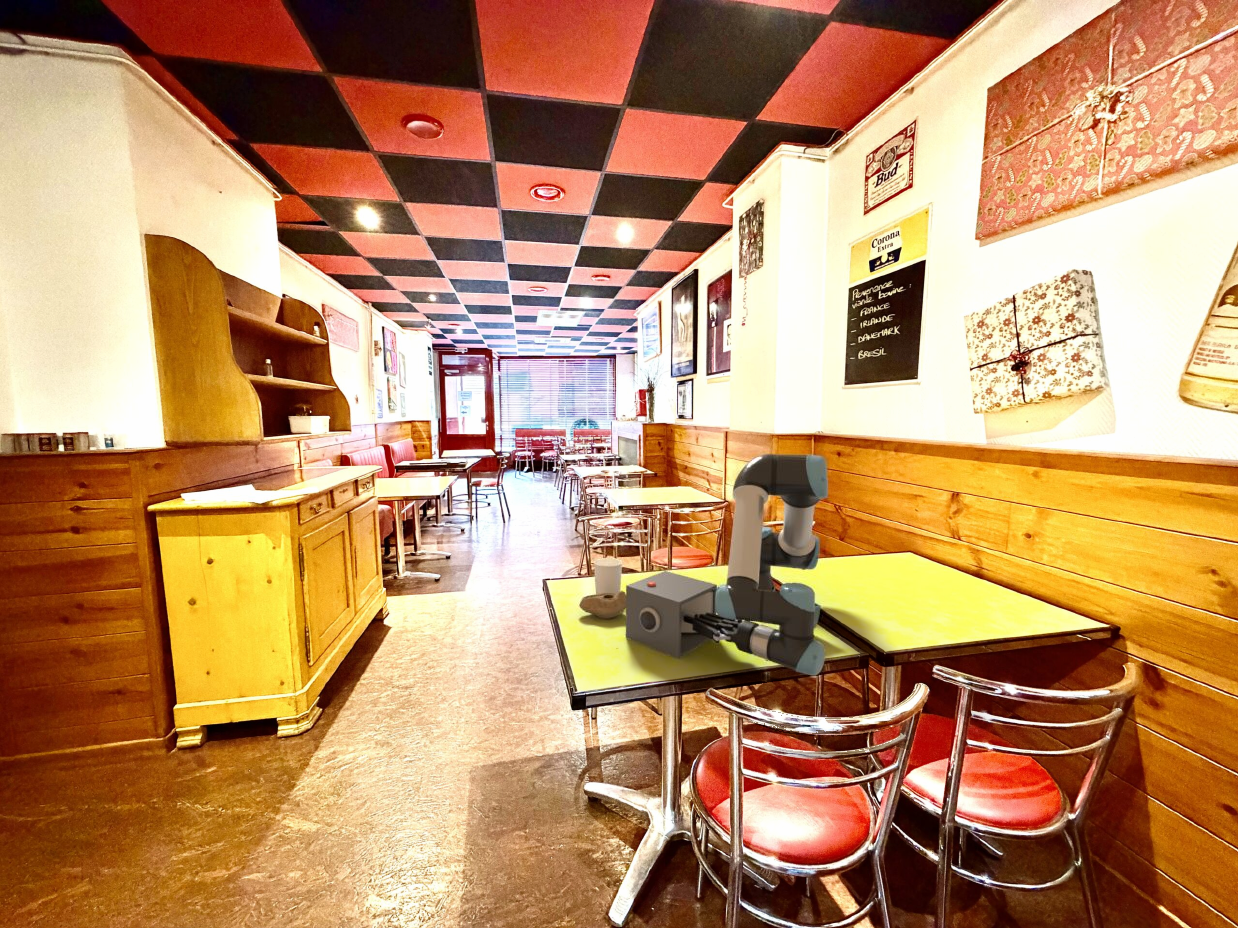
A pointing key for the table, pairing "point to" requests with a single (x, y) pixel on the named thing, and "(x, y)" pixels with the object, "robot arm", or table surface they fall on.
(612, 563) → the candle holder
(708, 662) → the table surface
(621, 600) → the oil lamp
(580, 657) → the table surface
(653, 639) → the cabinet with door
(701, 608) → the side door
